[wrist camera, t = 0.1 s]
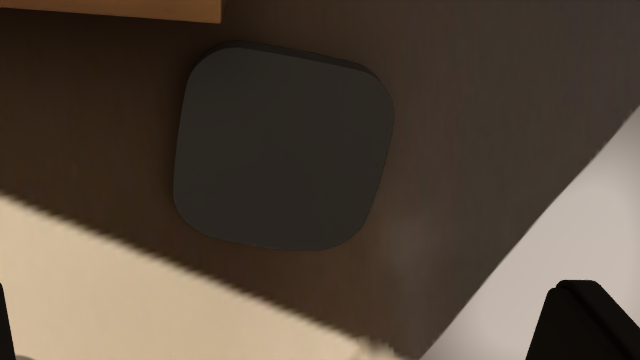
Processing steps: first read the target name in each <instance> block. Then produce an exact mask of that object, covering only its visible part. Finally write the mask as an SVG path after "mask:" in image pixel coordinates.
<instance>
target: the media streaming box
mask: <svg viewBox="0 0 640 360" xmlns="http://www.w3.org/2000/svg"><path fill="white" fill-rule="evenodd" d="M393 124H394V108H393V103H392V100H391V98H390V95H389V93H388V91H387V90H386V88H385V87H384V85H383V84H382V83H381V81H380V80H379V79H378V78H377V76H376V75H375V74H374V73H373V72H371V71H370V70H369V69H367V68H366V67H364V66H362V65H360V64H356V63H353V62H349V61H345V60H341V59H337V58H332V57H328V56H324V55H319V54H315V53H310V52H305V51H300V50H295V49H289V48H283V47H278V46H271V45H265V44H258V43H251V42H244V41H231V42H226V43H222V44H220V45H217V46H215V47H213V48H212V49H210V50H208V51H207V52H206V53H204V54H203V55H202V56H201V57H200V58H199V60H198V61H197V62H196V64H195V65H194V67H193V69H192V71H191V73H190V75H189V78H188V81H187V85H186V90H185V95H184V100H183V106H182V111H181V118H180V124H179V131H178V138H177V146H176V156H175V167H174V181H173V200H174V203H175V206H176V208H177V210H178V212H179V214H180V215H181V217H182V218H183V219H184V220H185V221H186V222H187V223H188V224H189V225H190V226H191V227H192V228H194V229H195V230H197V231H198V232H200V233H202V234H204V235H206V236H209V237H213V238H217V239H221V240H225V241H230V242H235V243H240V244H245V245H251V246H258V247H266V248H275V249H287V250H324V249H329V248H332V247H335V246H337V245H339V244H341V243H343V242H345V241H347V240H348V239H350V238H351V237H352V236H354V235H355V234H356V233H357V232H358V231H359V230H360V228H361V227H362V226H363V224H364V223H365V220H366V218H367V216H368V213H369V211H370V208H371V206H372V203H373V200H374V197H375V194H376V191H377V188H378V185H379V182H380V179H381V175H382V172H383V168H384V165H385V161H386V157H387V153H388V148H389V144H390V139H391V134H392V129H393Z"/></svg>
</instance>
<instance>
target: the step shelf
mask: <svg viewBox="0 0 640 360" xmlns="http://www.w3.org/2000/svg"><path fill="white" fill-rule="evenodd" d="M226 1H227V0H0V7H5V8H18V9H31V10H45V11H58V12H71V13H84V14H98V15H111V16H124V17H138V18H151V19H164V20H177V21H191V22H204V23H217V24H219V23H221V20H222V16H223V12H224V9H225V5H226Z"/></svg>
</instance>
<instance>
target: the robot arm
mask: <svg viewBox="0 0 640 360" xmlns="http://www.w3.org/2000/svg"><path fill="white" fill-rule="evenodd" d="M0 360H16V358H15V353H14V347H13V341H12V336H11V330H10V325H9V319H8V314H7V308H6V303H5V297H4V292H3V287H2V285H1V283H0ZM525 360H640V328H639V327H638V326H637V325H636V323H635V322H634V321H633V320H632V319H631V318H630V317H629V316H628V315H627V314H626V313H625V311H624V310H623V309H622V308H621V307H620V306H619V305H618V304H617V303H616V302H615V301H614V300H613V298H612V297H611V296H610V295H609V294H608V293H607V292H606V291H605V290H604V289H603V288H602V287H601V285H599V284H598V283H597V282H595V281H592V280H562V281H560V282H559V283H558V284H557V285H556V288H552V289H550V290H549V291H548V293H547V296H546V299H545V302H544V305H543V308H542V311H541V314H540V317H539V320H538V323H537V326H536V329H535V332H534V335H533V338H532V341H531V344H530V347H529V350H528V353H527V356H526V359H525Z"/></svg>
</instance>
